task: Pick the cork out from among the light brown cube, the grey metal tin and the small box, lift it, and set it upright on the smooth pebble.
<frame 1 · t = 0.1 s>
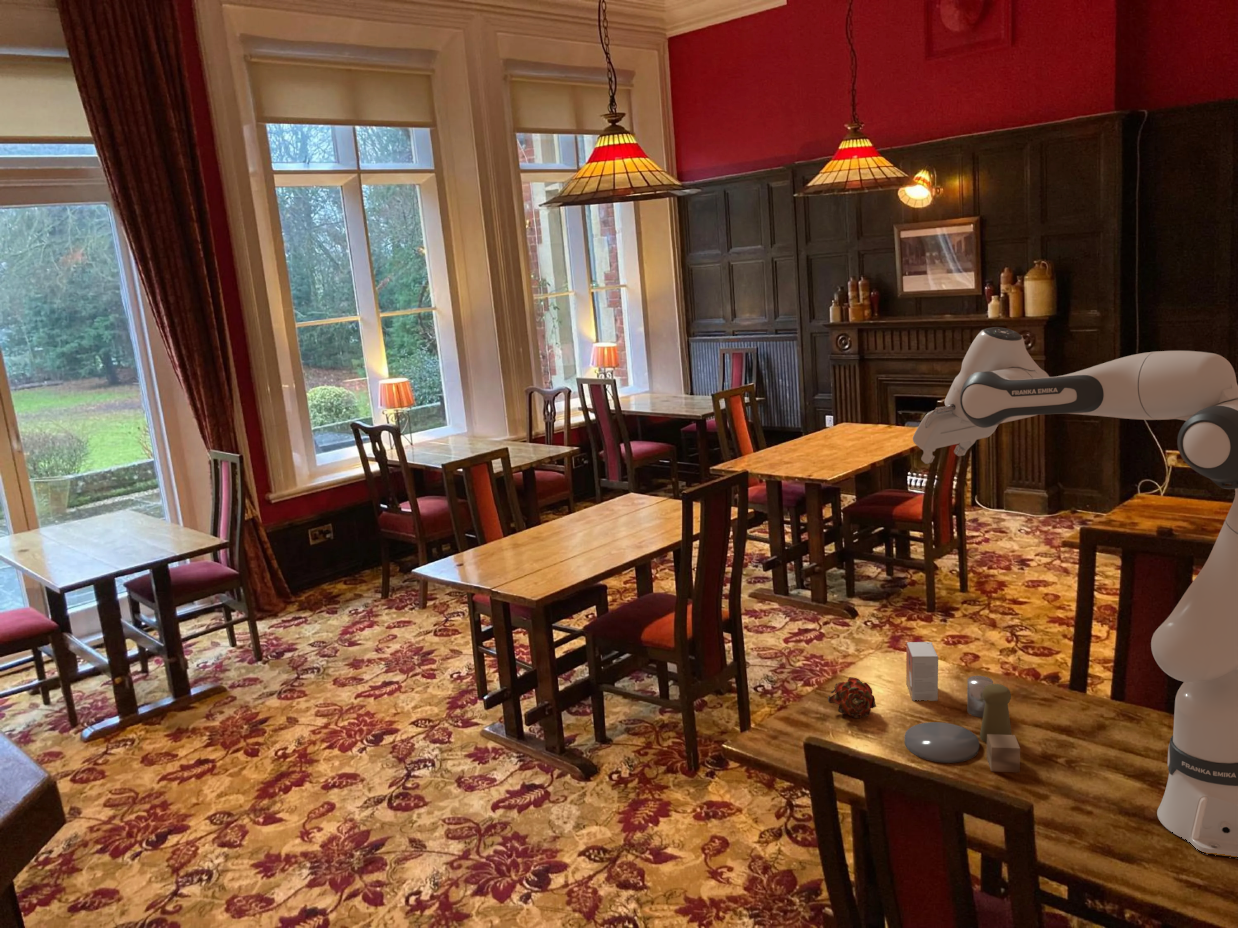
hand: (942, 457, 197), 54 cm above the table, tool tilted 30°, fingers open, 8 cm apart
cork: (995, 738, 193), on the table
small box: (921, 693, 214), on the table
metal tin: (979, 711, 204), on the table
smooth pebble: (941, 744, 192), on the table
light brown cube: (1002, 765, 183), on the table
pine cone: (852, 713, 207), on the table
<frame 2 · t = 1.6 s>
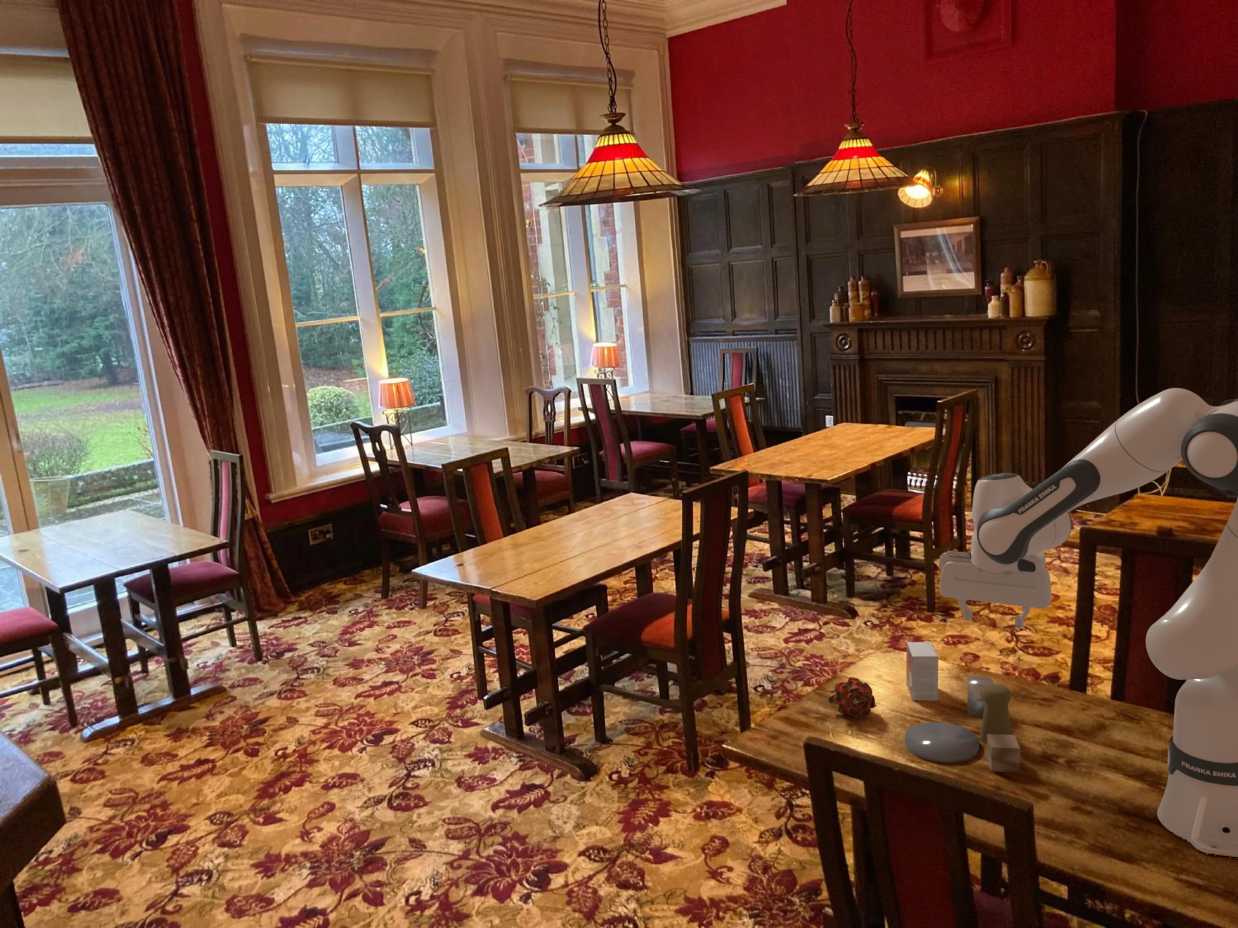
hand: (993, 622, 189), 24 cm above the table, tool pointing down, fingers open, 8 cm apart
nothing on the table moved.
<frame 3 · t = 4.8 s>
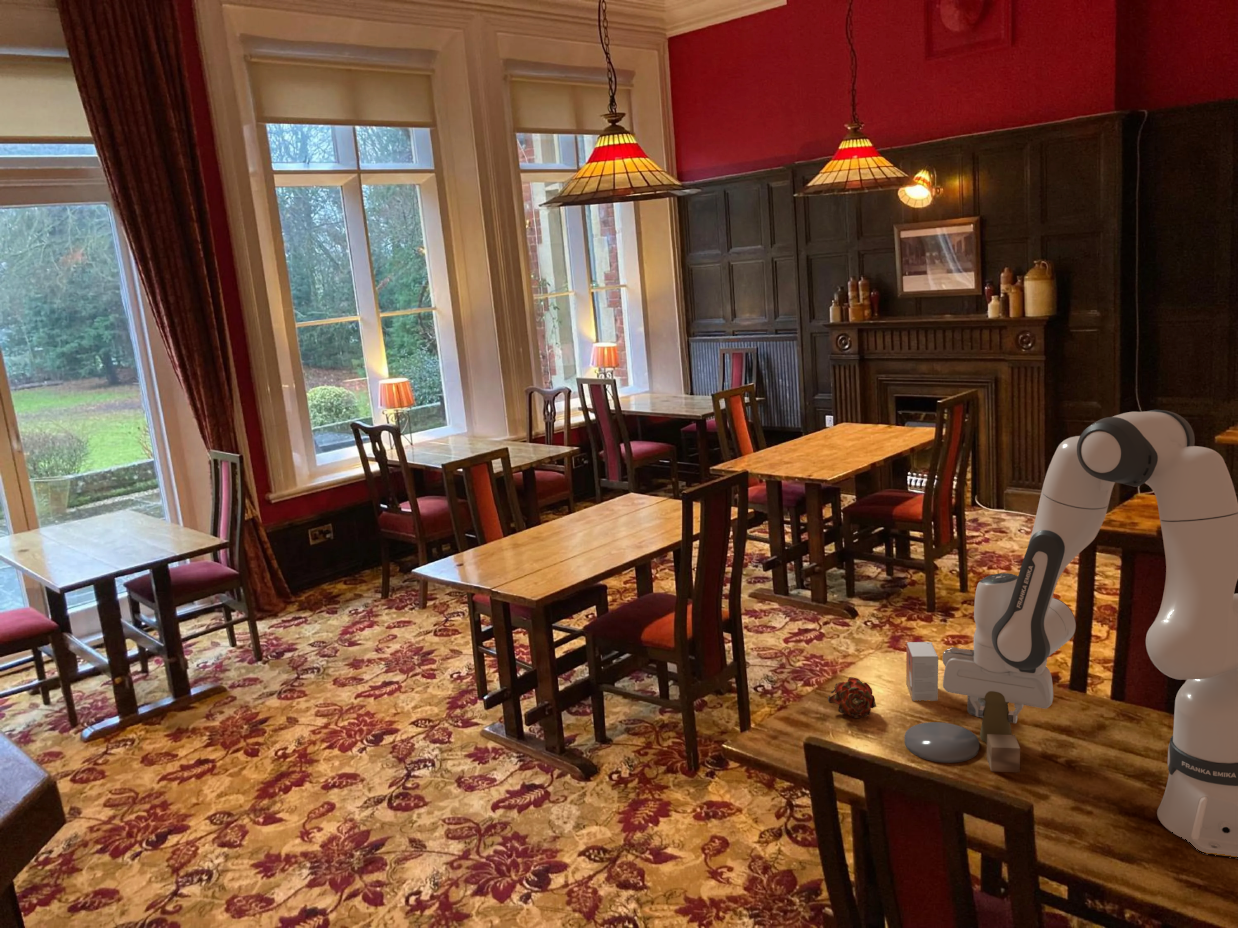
hand: (996, 718, 192), 4 cm above the table, tool pointing down, fingers closed on cork, 5 cm apart
cork: (995, 738, 193), on the table, touching gripper
everything else where it was.
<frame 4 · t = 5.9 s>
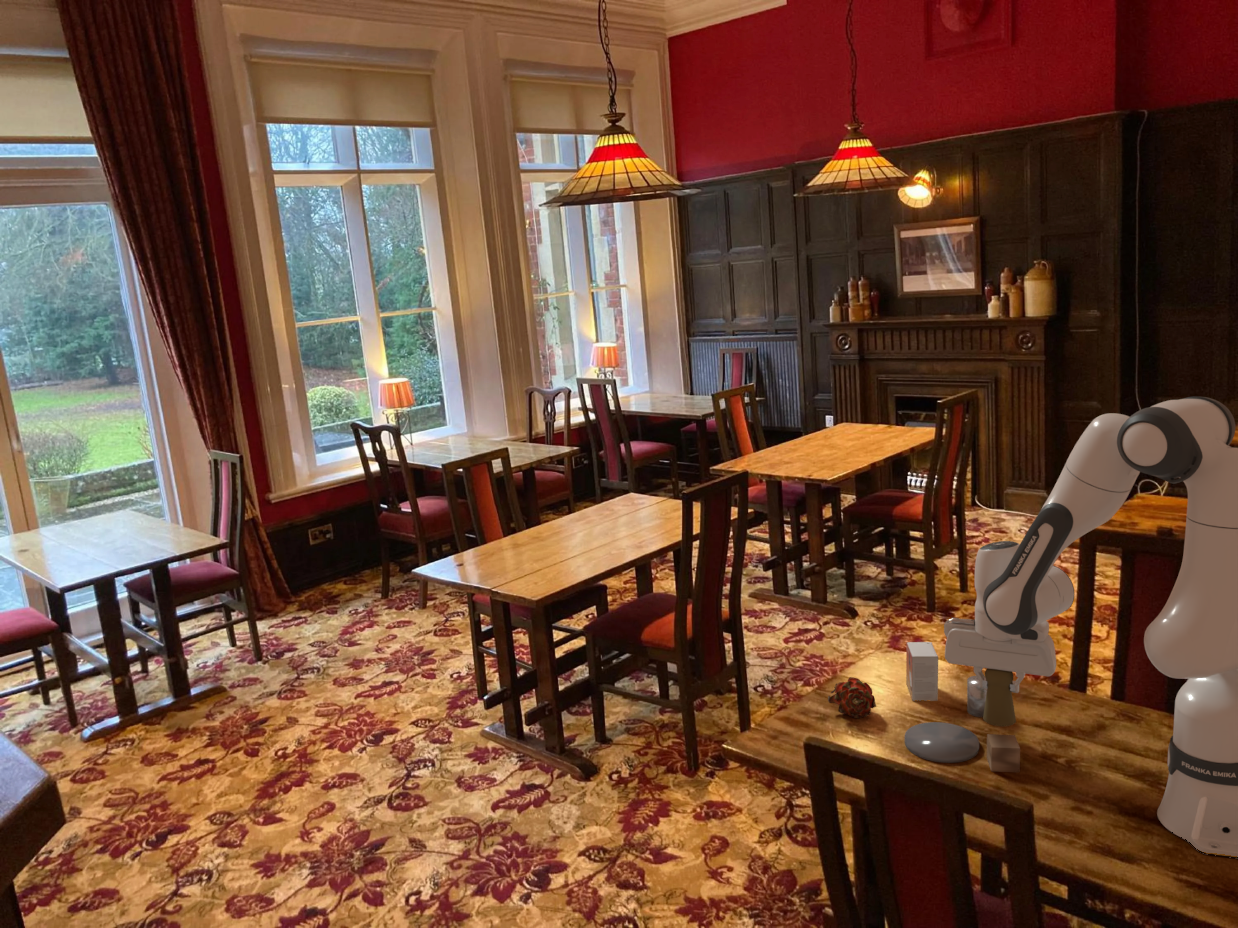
hand: (999, 689, 190), 11 cm above the table, tool pointing down, fingers closed on cork, 4 cm apart
cork: (999, 719, 192), point 4 cm above the table, touching gripper
everything else where it was.
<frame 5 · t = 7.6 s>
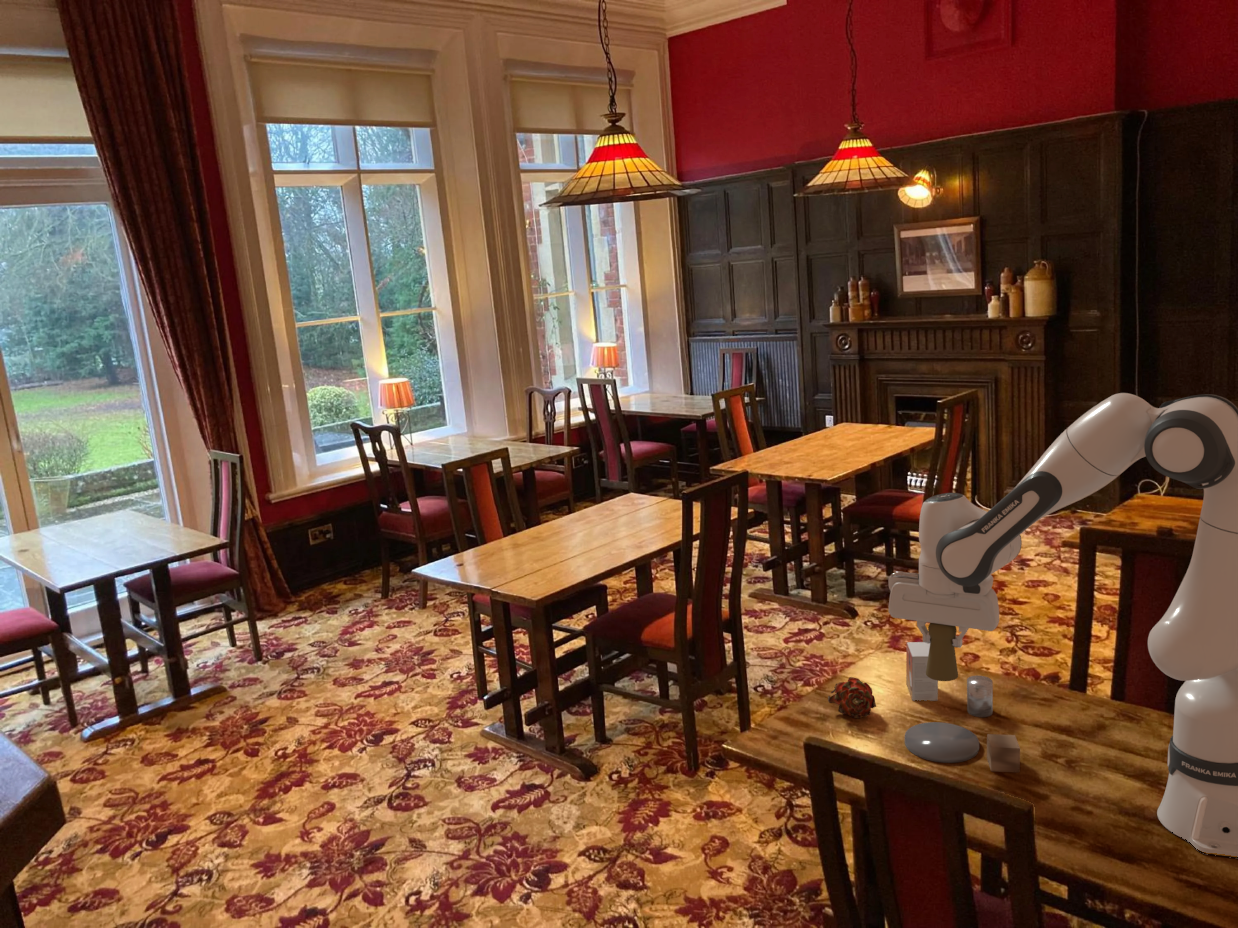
hand: (942, 643, 188), 21 cm above the table, tool pointing down, fingers closed on cork, 4 cm apart
cork: (941, 675, 189), point 15 cm above the table, touching gripper
everything else where it was.
when the fingers open (7 cm above the table, at t = 10.1 s): cork stays where it is, resting on smooth pebble.
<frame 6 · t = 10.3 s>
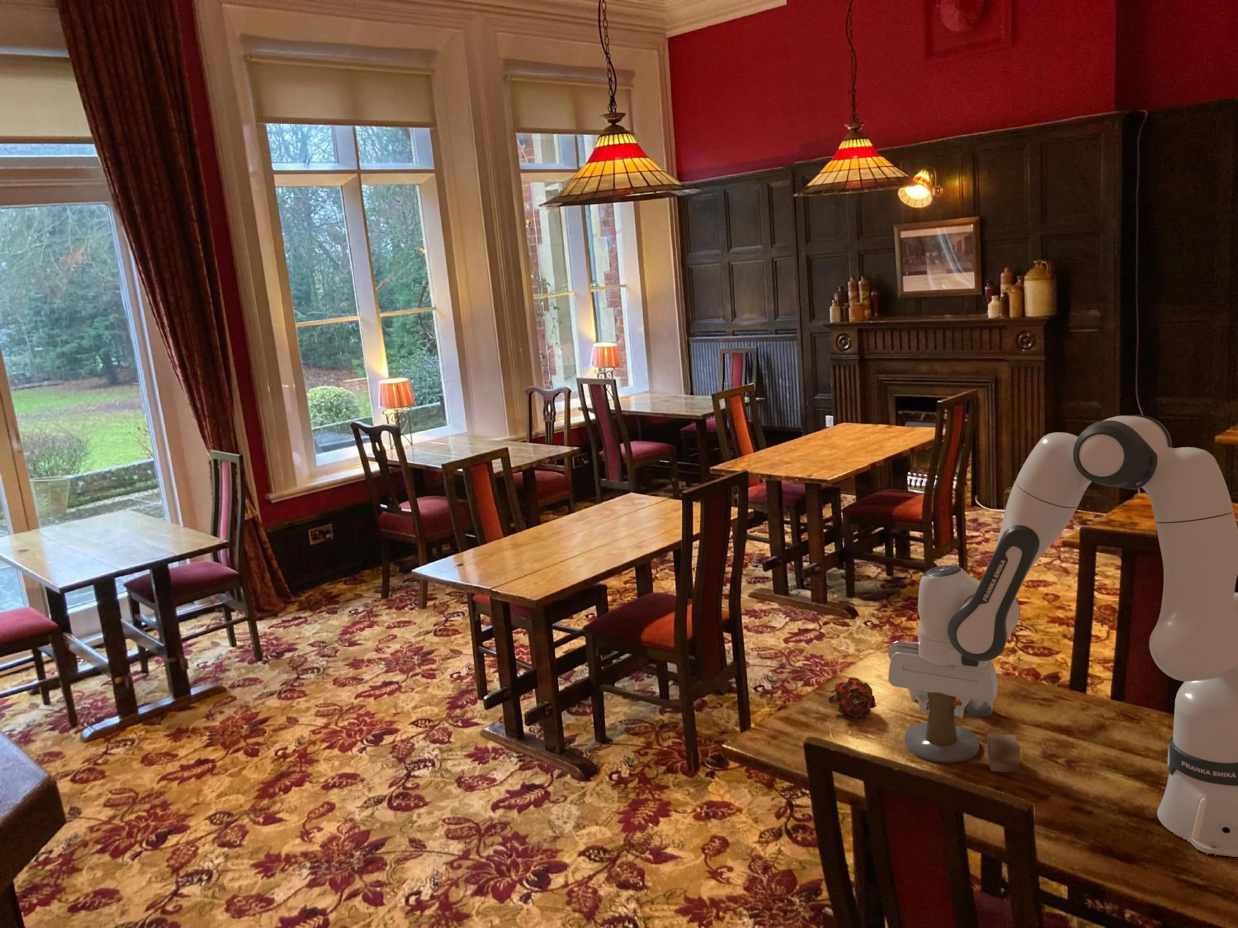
hand: (941, 712, 191), 7 cm above the table, tool pointing down, fingers open, 5 cm apart
cork: (941, 739, 192), point 1 cm above the table, touching smooth pebble
everything else where it was.
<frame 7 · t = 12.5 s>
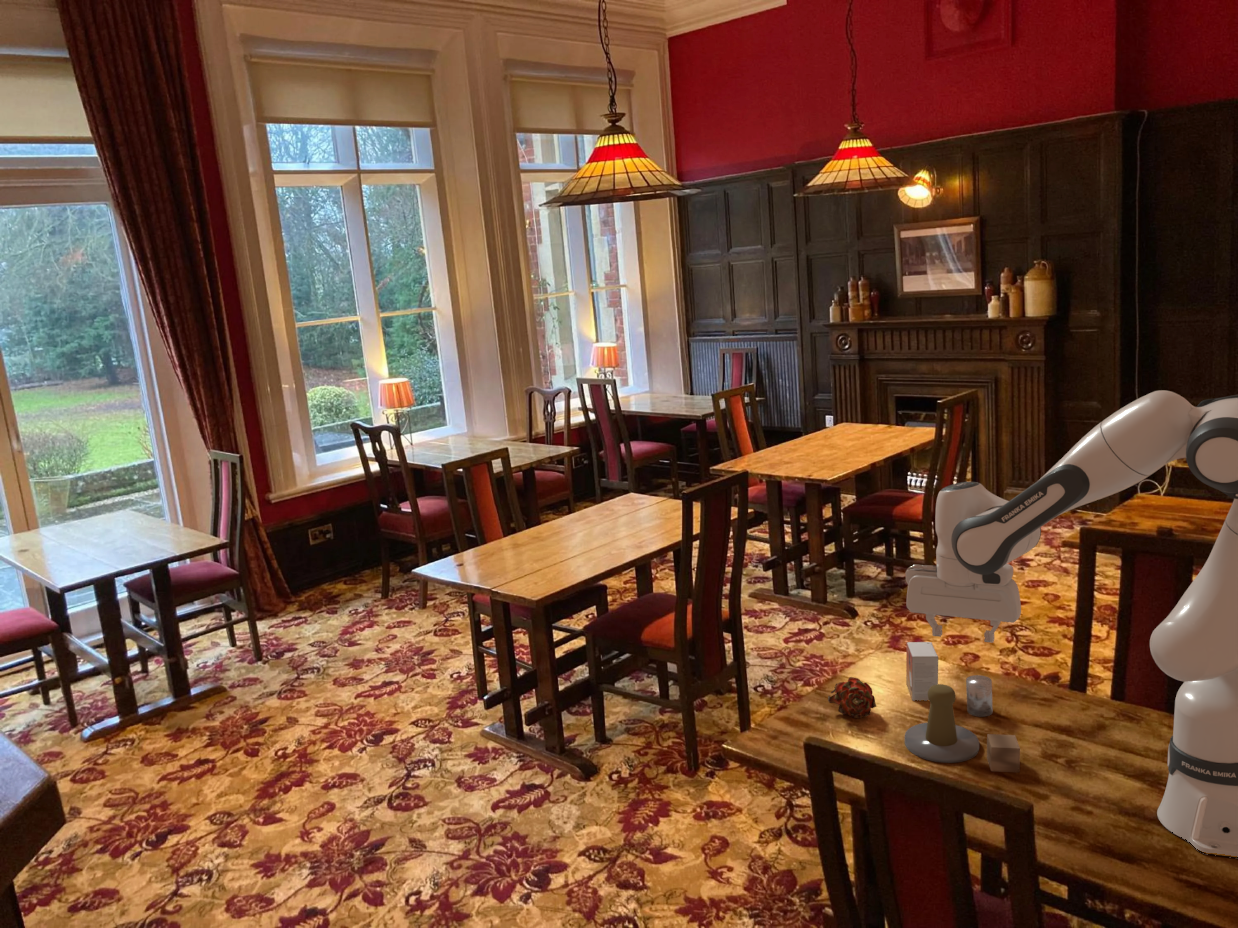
hand: (963, 638, 182), 24 cm above the table, tool pointing down, fingers open, 8 cm apart
nothing on the table moved.
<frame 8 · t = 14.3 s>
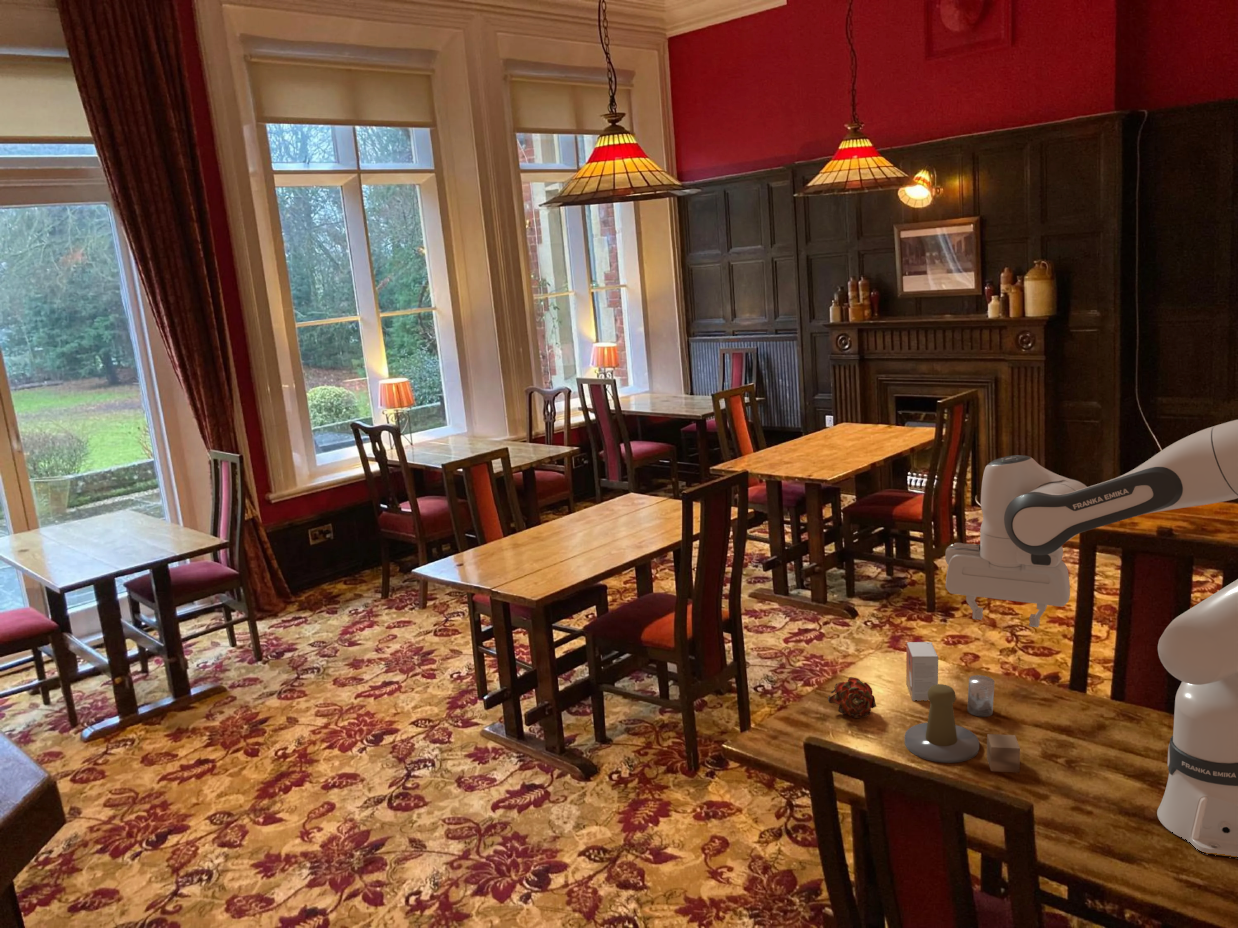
hand: (1005, 621, 171), 31 cm above the table, tool pointing down, fingers open, 8 cm apart
nothing on the table moved.
at the end: cork inside the target area on the smooth pebble (0.2 cm from its centre), point 1.0 cm above the smooth pebble's base; cork tilted 0°; the gripper is holding nothing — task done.
